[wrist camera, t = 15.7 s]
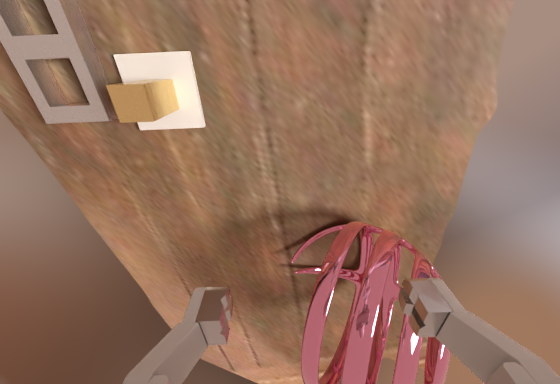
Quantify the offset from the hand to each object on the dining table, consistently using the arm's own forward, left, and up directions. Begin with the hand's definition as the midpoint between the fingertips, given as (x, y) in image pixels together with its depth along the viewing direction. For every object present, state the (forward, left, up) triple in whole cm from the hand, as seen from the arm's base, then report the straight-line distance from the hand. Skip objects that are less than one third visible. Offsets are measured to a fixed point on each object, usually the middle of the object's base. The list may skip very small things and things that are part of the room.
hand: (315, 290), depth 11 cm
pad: (-6, -18, -29) cm, 35 cm away
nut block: (-6, -18, -28) cm, 34 cm away
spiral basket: (+27, +12, -29) cm, 42 cm away
